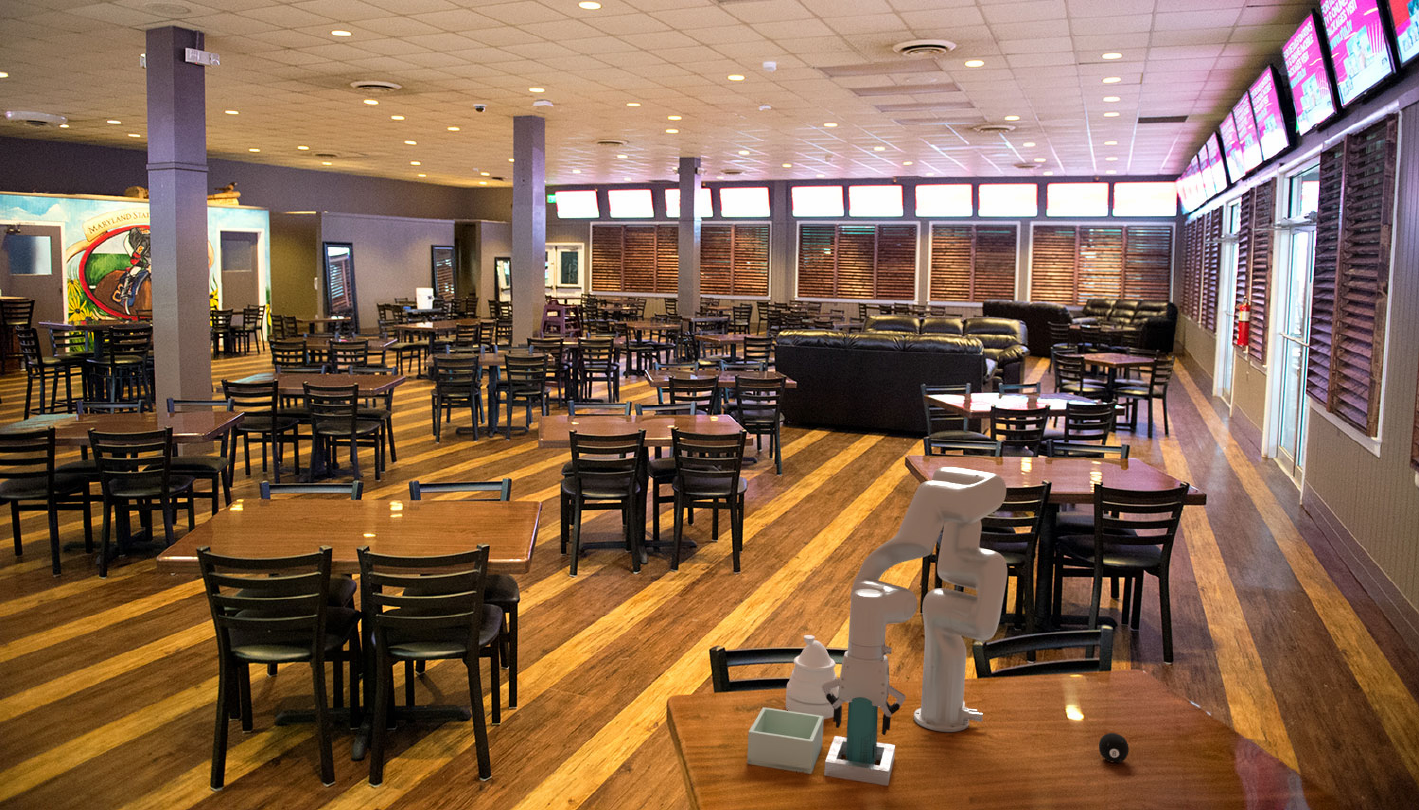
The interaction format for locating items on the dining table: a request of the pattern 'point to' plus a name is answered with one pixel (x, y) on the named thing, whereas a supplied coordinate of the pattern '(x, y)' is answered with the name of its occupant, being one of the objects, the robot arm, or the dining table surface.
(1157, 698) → the dining table surface
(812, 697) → the honey pot
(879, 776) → the socket frame
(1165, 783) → the dining table surface
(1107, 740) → the billiard ball
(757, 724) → the bin
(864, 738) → the beverage bottle
